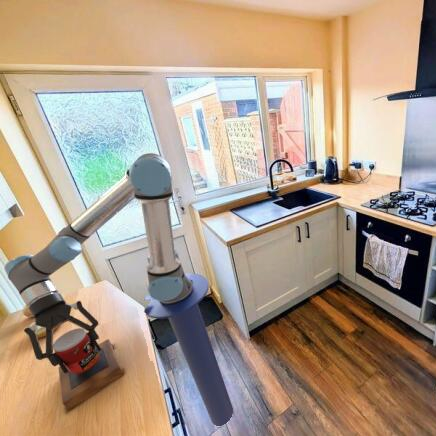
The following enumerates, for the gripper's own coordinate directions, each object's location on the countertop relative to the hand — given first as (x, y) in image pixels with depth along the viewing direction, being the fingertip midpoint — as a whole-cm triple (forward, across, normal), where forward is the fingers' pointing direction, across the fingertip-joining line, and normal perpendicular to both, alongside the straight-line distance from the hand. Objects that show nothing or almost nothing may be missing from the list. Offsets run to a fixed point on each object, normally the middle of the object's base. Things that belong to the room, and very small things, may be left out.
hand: (83, 360), depth 74 cm
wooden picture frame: (+4, 0, -9) cm, 10 cm away
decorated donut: (-25, +4, -38) cm, 46 cm away
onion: (-36, +4, -50) cm, 61 cm away
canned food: (0, 0, -5) cm, 5 cm away
